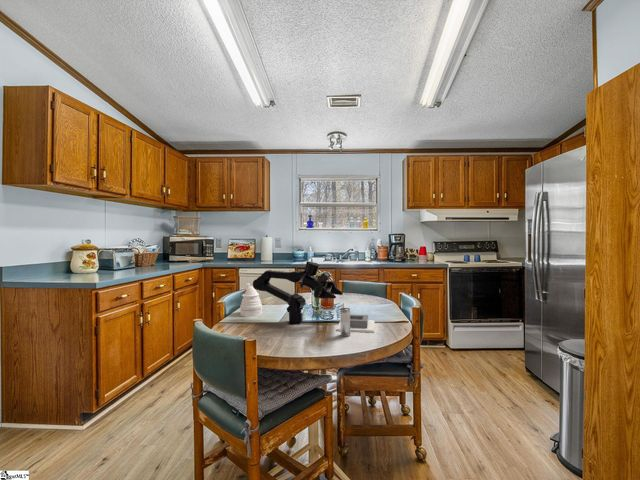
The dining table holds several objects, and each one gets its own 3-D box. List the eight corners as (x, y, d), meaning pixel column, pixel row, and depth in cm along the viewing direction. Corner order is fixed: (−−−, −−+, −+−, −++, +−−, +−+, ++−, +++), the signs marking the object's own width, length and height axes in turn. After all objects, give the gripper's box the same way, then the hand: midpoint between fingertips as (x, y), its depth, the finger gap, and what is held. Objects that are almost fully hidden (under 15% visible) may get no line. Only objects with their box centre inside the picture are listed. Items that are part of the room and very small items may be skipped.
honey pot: (236, 315, 191) (235, 285, 190) (247, 310, 203) (246, 281, 202) (255, 317, 187) (255, 286, 186) (265, 311, 199) (265, 282, 199)
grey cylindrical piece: (340, 336, 151) (339, 309, 150) (341, 333, 155) (341, 307, 155) (349, 337, 150) (349, 310, 149) (350, 334, 154) (350, 307, 154)
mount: (336, 330, 159) (336, 321, 159) (341, 320, 177) (340, 312, 177) (373, 332, 156) (373, 323, 156) (374, 322, 174) (374, 313, 173)
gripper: (309, 271, 160) (337, 283, 154) (324, 267, 177) (350, 278, 171) (303, 292, 162) (330, 305, 156) (318, 286, 179) (344, 297, 173)
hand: (339, 295), depth 164 cm, fingers open, 9 cm apart
